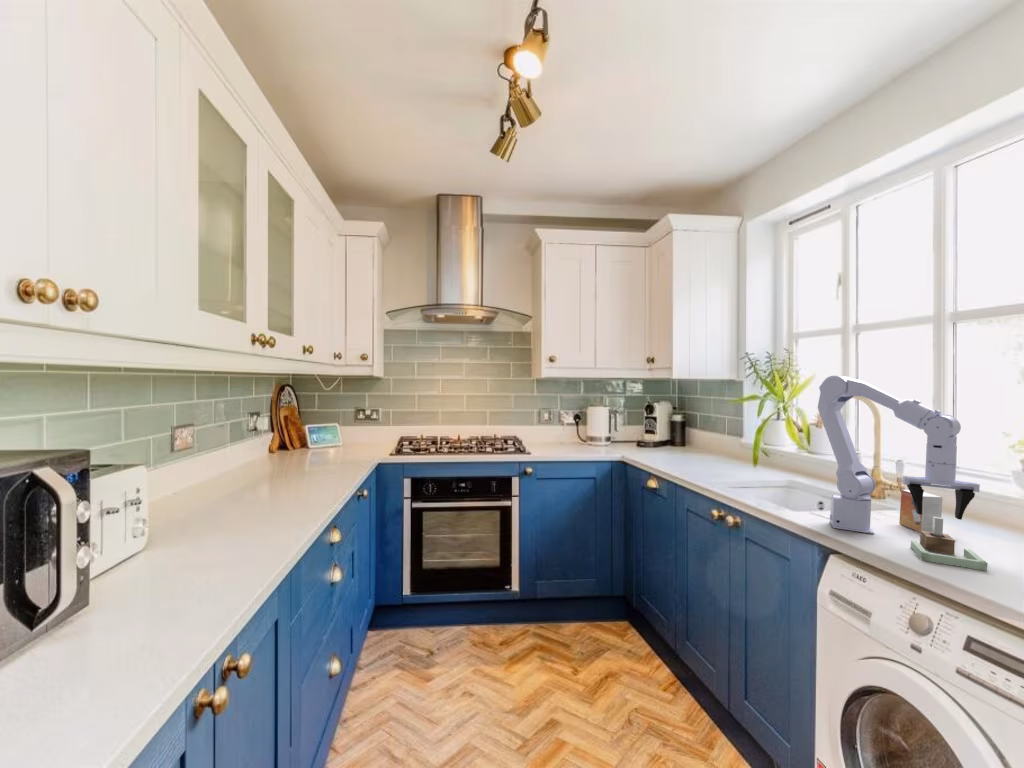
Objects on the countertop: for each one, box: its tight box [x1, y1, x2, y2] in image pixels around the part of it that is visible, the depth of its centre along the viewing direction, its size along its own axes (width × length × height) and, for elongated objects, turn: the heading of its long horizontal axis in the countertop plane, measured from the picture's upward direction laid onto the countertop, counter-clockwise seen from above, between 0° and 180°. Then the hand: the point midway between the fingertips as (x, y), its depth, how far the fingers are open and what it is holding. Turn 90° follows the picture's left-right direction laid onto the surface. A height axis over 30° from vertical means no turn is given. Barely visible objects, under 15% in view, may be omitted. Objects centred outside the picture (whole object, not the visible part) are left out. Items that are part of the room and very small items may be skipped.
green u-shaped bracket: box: [910, 540, 988, 572], centre depth 115 cm, size 11×10×2 cm
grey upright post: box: [932, 516, 944, 537], centre depth 121 cm, size 2×2×8 cm
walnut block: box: [919, 531, 956, 555], centre depth 121 cm, size 5×5×4 cm
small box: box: [898, 489, 943, 533], centre depth 138 cm, size 8×6×10 cm
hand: (938, 516), depth 121 cm, fingers open, 7 cm apart
